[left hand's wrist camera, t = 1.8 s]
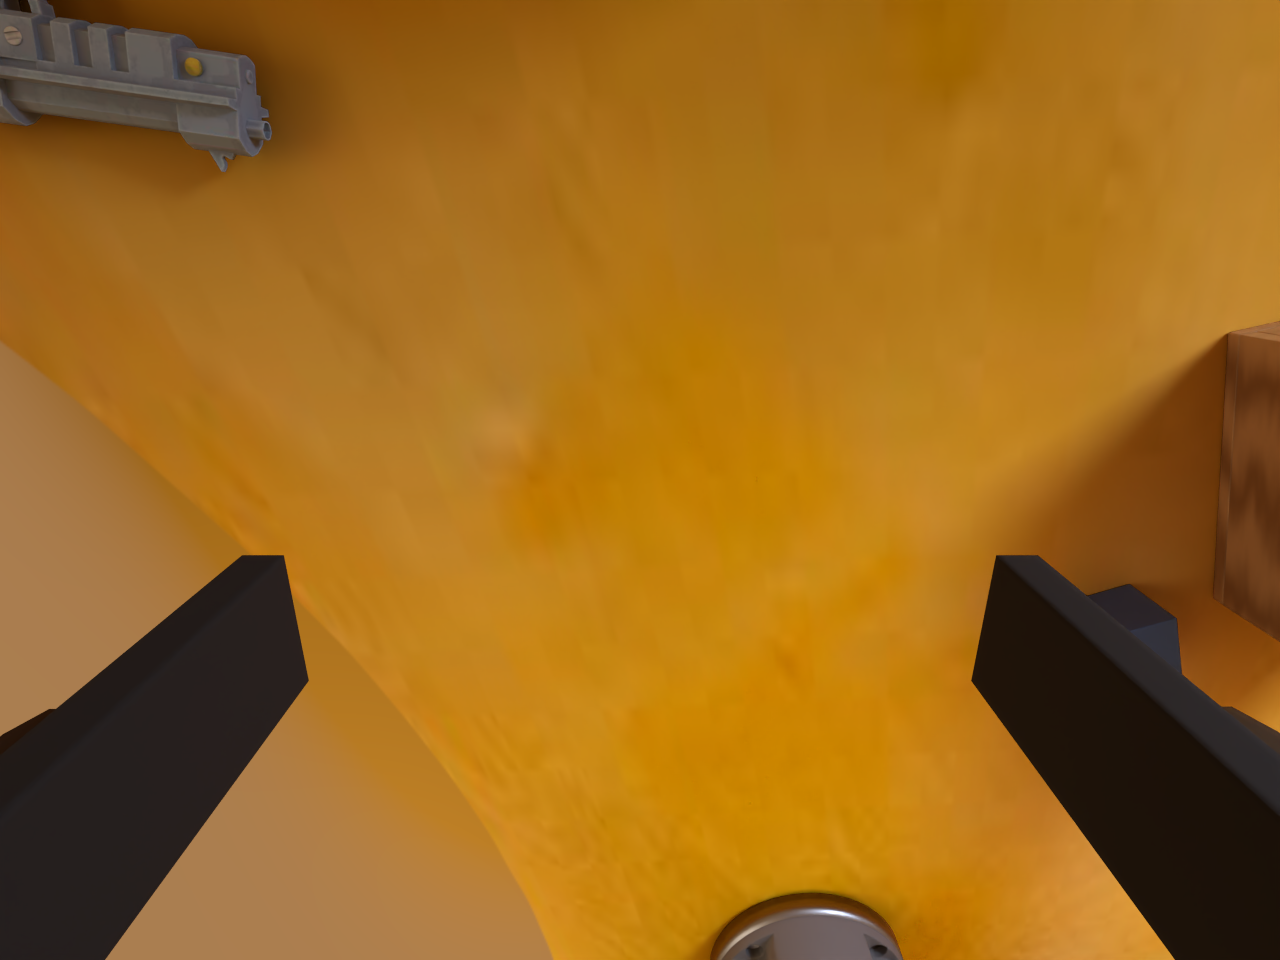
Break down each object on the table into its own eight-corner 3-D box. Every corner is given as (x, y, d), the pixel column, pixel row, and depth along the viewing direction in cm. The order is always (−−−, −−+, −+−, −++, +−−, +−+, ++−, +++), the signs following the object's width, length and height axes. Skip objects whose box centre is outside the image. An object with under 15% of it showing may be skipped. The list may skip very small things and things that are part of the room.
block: (1135, 636, 46) (1182, 674, 42) (1071, 653, 46) (1112, 693, 42) (1129, 583, 44) (1177, 618, 40) (1063, 602, 45) (1104, 638, 41)
